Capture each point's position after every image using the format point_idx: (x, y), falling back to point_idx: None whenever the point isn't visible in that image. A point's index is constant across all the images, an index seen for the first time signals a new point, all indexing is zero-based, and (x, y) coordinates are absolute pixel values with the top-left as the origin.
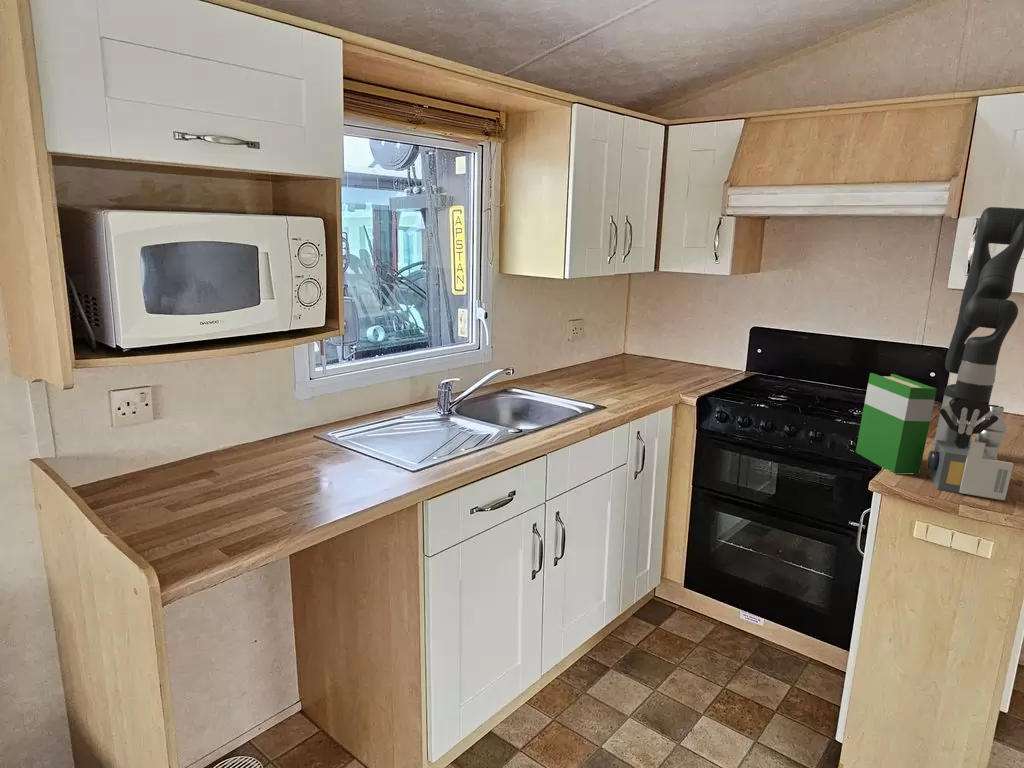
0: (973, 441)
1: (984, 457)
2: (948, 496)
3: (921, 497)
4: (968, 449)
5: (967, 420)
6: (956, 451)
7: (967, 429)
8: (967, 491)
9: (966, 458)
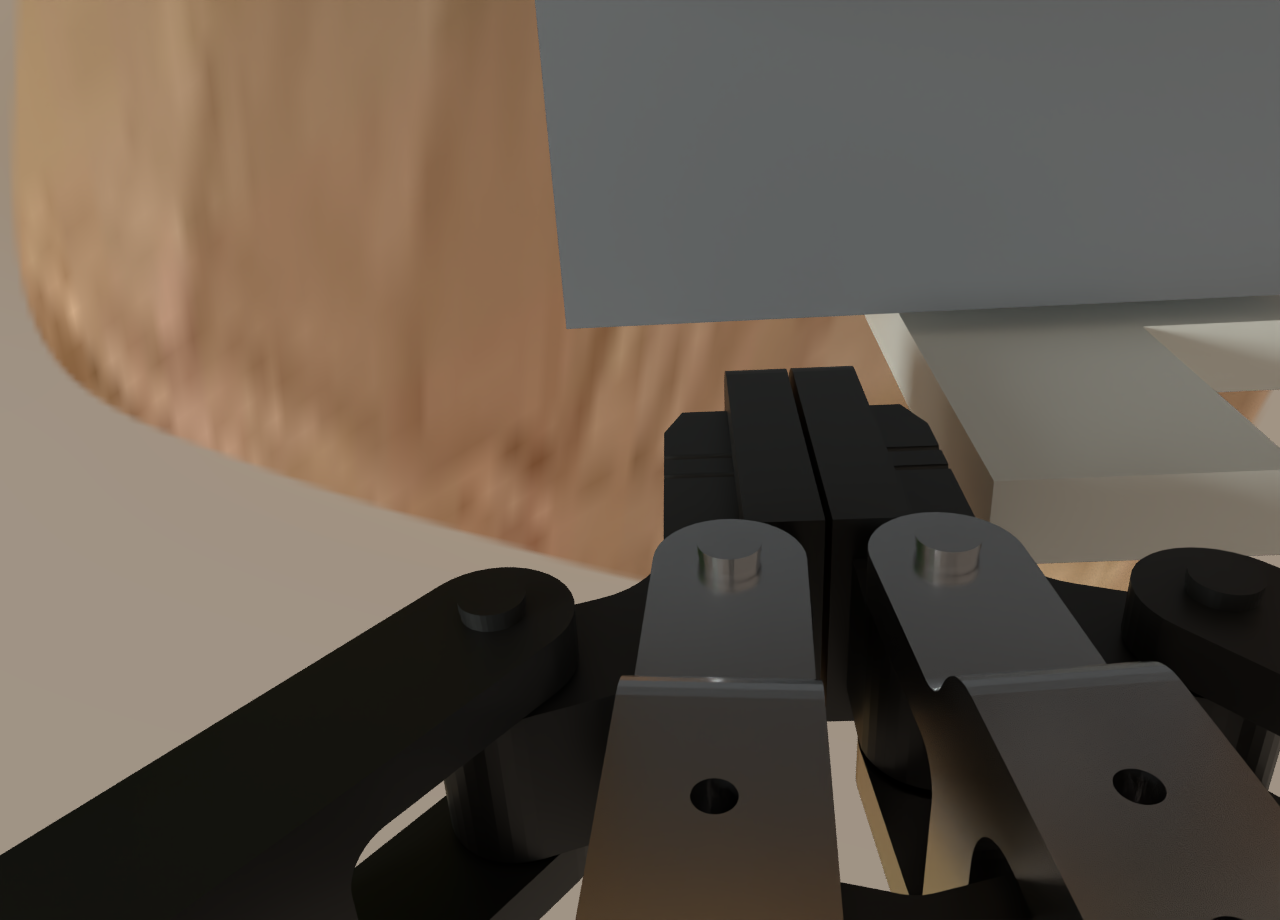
0: (1051, 507)
1: (1235, 242)
2: (690, 346)
3: (441, 523)
4: (942, 391)
5: (977, 848)
6: (783, 116)
7: (889, 852)
8: None
9: (902, 326)
